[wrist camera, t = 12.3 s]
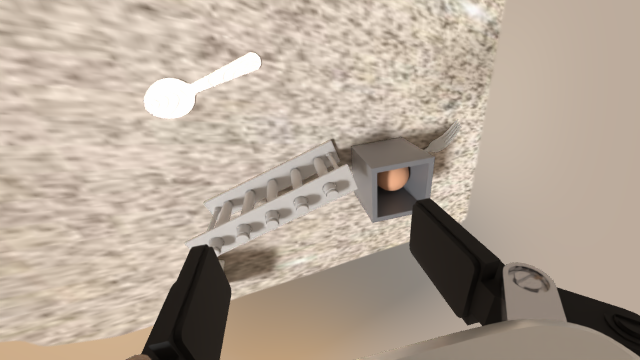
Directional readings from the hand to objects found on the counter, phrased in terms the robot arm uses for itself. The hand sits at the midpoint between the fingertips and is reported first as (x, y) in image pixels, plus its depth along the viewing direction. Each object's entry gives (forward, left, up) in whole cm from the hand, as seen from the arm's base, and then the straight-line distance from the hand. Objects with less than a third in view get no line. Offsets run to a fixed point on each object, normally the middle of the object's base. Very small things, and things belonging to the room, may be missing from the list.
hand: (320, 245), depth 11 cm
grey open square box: (+12, +15, -30) cm, 36 cm away
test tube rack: (+11, -5, -31) cm, 33 cm away
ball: (+12, +16, -26) cm, 33 cm away
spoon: (-6, -11, -31) cm, 33 cm away
